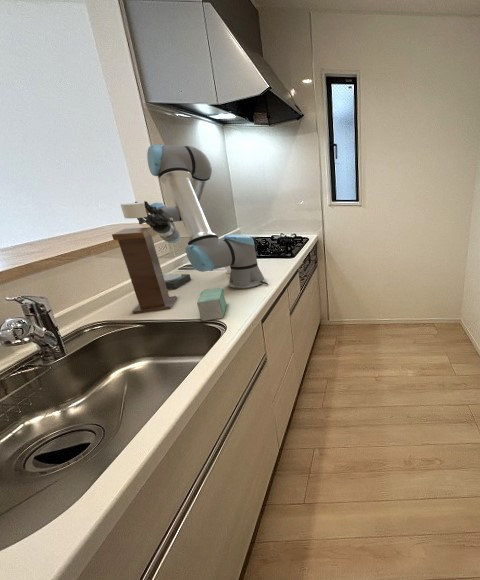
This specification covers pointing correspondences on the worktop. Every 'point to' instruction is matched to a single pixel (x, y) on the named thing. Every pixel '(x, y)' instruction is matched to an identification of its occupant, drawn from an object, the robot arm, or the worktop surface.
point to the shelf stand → (144, 269)
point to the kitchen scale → (176, 280)
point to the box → (211, 304)
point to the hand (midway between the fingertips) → (141, 204)
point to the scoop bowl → (134, 210)
